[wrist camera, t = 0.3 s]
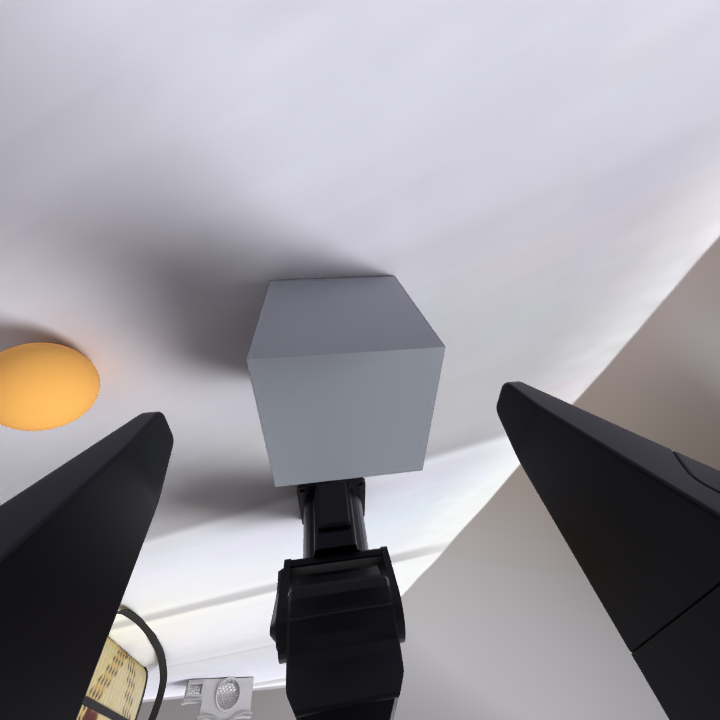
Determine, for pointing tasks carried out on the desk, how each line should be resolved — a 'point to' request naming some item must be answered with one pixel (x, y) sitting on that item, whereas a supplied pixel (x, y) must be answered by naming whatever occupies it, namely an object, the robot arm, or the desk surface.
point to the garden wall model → (210, 712)
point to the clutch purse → (122, 681)
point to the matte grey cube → (343, 378)
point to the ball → (45, 386)
